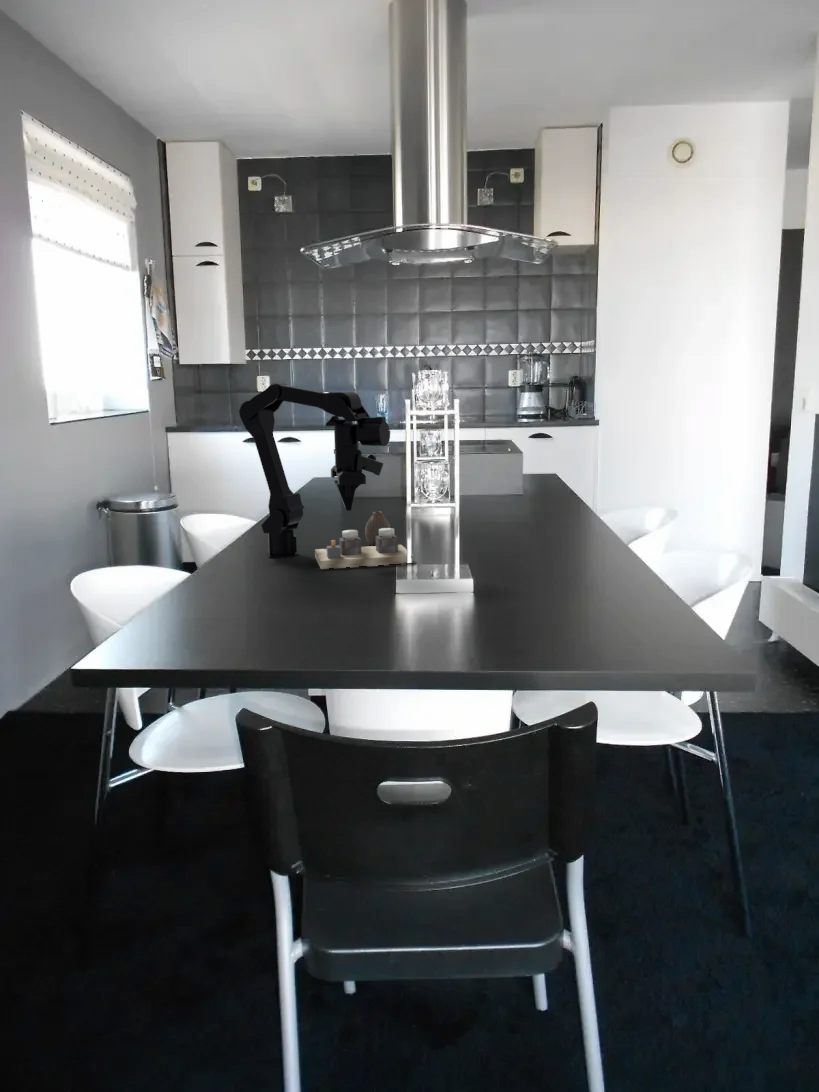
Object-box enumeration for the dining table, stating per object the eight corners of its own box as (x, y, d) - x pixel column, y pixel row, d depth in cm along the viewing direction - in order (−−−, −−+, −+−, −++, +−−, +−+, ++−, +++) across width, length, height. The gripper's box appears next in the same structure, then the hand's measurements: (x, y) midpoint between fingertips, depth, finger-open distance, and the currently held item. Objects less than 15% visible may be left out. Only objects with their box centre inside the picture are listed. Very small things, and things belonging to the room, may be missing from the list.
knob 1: (343, 553, 199) (343, 533, 198) (341, 550, 202) (341, 530, 201) (359, 552, 199) (358, 532, 199) (357, 549, 203) (356, 529, 202)
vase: (380, 548, 217) (379, 515, 215) (360, 545, 221) (359, 512, 219) (396, 543, 222) (395, 511, 221) (376, 541, 226) (375, 509, 225)
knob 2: (380, 550, 201) (380, 531, 200) (378, 547, 204) (377, 528, 203) (396, 550, 201) (395, 530, 200) (393, 547, 205) (392, 527, 204)
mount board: (320, 569, 193) (320, 546, 192) (315, 557, 207) (314, 535, 206) (413, 563, 197) (412, 541, 196) (401, 552, 211) (401, 531, 210)
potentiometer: (328, 558, 195) (327, 542, 194) (326, 556, 198) (326, 539, 197) (340, 557, 196) (340, 541, 195) (339, 555, 199) (338, 539, 198)
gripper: (386, 447, 189) (388, 514, 192) (374, 441, 207) (375, 503, 210) (338, 448, 187) (340, 516, 190) (329, 443, 205) (331, 505, 208)
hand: (348, 510), depth 200 cm, fingers closed
